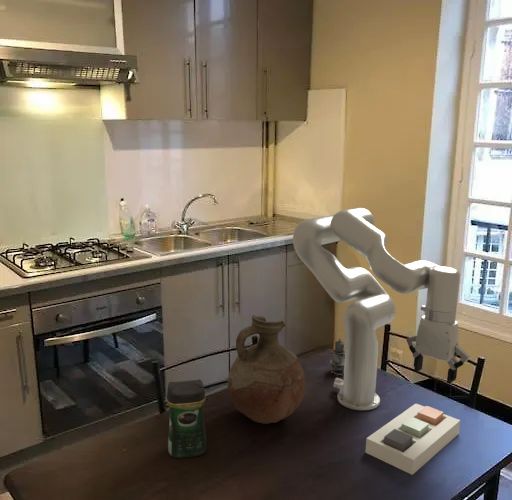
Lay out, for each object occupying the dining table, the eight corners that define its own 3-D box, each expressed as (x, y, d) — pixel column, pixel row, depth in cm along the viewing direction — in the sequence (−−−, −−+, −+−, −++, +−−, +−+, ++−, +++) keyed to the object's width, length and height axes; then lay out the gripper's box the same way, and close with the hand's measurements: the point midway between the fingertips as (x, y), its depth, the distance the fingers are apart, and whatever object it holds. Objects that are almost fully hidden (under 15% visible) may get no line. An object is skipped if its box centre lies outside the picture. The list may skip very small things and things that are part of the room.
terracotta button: (416, 420, 149) (417, 412, 149) (425, 413, 153) (426, 405, 152) (434, 427, 146) (435, 418, 146) (442, 420, 150) (443, 412, 149)
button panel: (365, 452, 140) (366, 438, 139) (414, 416, 158) (415, 403, 157) (412, 474, 131) (413, 459, 130) (458, 433, 149) (460, 420, 148)
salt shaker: (346, 376, 182) (348, 342, 179) (328, 374, 183) (330, 341, 180) (347, 369, 188) (349, 336, 185) (330, 367, 189) (331, 334, 186)
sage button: (401, 432, 143) (401, 423, 143) (410, 425, 147) (411, 416, 146) (418, 440, 140) (419, 431, 140) (428, 432, 144) (428, 423, 143)
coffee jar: (204, 439, 144) (203, 373, 140) (208, 457, 137) (207, 388, 133) (166, 443, 142) (165, 376, 138) (168, 461, 135) (167, 391, 131)
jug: (320, 422, 154) (324, 319, 147) (258, 447, 141) (260, 337, 134) (271, 392, 170) (273, 299, 164) (212, 412, 158) (212, 313, 151)
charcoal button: (383, 445, 137) (384, 436, 137) (394, 437, 141) (394, 428, 140) (401, 453, 134) (402, 444, 134) (411, 445, 138) (412, 436, 137)
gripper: (402, 309, 146) (397, 370, 150) (467, 326, 134) (459, 392, 138) (416, 303, 151) (411, 361, 155) (479, 319, 140) (472, 382, 144)
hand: (434, 375), depth 147 cm, fingers open, 8 cm apart
